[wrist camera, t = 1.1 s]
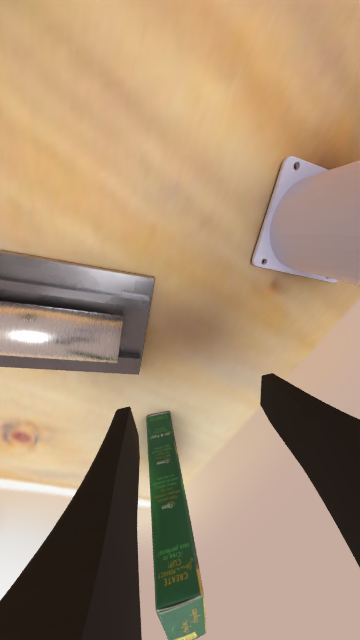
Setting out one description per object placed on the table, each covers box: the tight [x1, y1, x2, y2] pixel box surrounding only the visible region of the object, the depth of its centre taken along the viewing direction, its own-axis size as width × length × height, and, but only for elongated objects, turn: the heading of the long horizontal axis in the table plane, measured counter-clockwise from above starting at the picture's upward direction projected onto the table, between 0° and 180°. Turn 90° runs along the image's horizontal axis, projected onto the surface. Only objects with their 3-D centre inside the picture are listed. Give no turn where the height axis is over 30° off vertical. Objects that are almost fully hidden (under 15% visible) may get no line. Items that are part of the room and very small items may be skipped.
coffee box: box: [146, 412, 206, 640], centre depth 19 cm, size 8×3×13 cm, turn 4°
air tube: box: [0, 301, 123, 363], centre depth 14 cm, size 13×4×4 cm, turn 78°
